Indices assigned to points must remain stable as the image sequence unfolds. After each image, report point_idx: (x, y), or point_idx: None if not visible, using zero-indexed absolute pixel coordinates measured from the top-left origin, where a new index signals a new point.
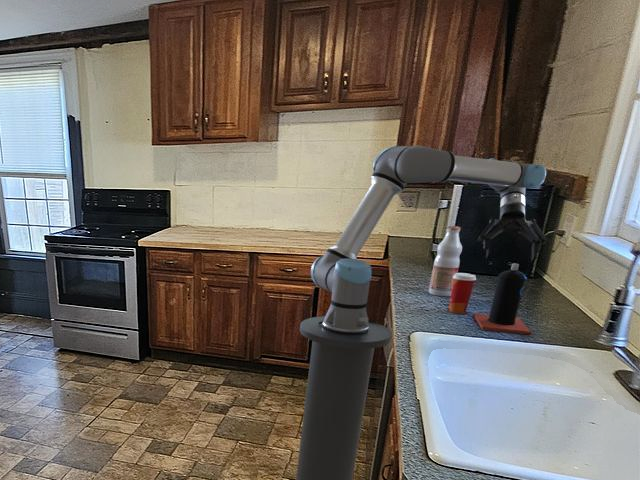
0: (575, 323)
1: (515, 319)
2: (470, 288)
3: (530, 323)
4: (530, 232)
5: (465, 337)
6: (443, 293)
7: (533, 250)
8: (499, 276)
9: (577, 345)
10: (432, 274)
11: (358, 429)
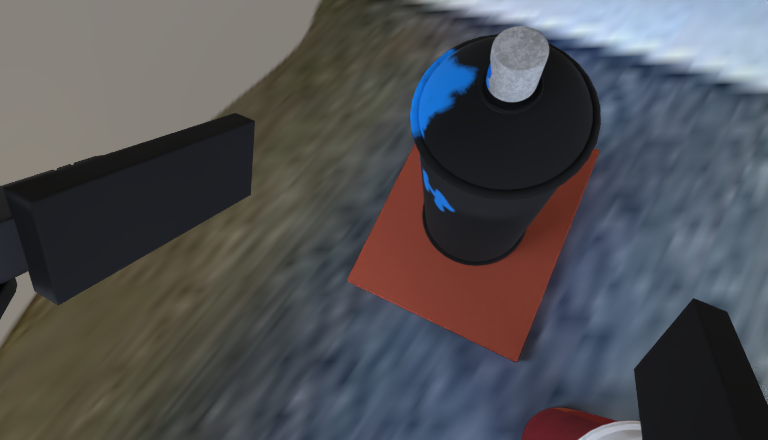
0: None
1: (383, 250)
2: (587, 423)
3: (330, 236)
4: None
5: (717, 63)
6: None
7: (169, 181)
8: (599, 123)
9: (366, 8)
10: None
11: None
